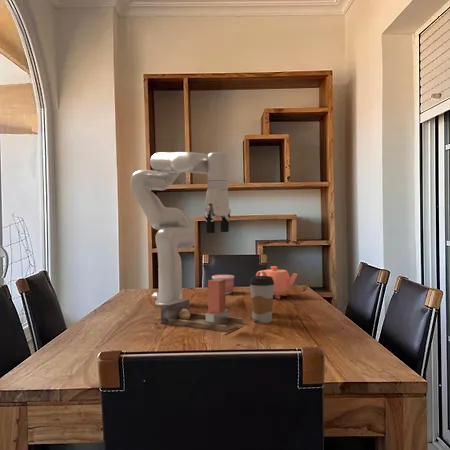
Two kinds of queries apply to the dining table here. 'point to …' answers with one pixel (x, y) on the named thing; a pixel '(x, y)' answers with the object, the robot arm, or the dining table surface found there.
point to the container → (226, 282)
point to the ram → (216, 302)
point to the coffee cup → (262, 298)
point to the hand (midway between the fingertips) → (217, 232)
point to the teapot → (279, 280)
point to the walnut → (184, 314)
